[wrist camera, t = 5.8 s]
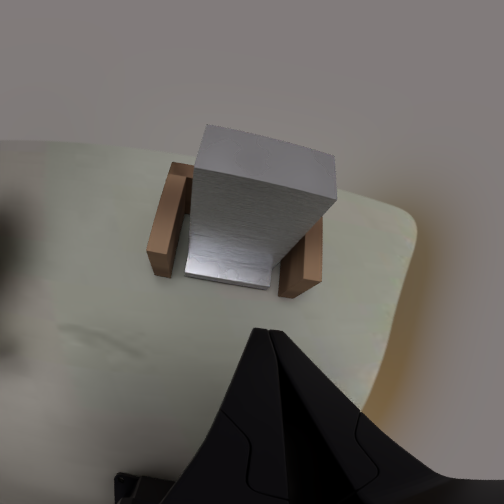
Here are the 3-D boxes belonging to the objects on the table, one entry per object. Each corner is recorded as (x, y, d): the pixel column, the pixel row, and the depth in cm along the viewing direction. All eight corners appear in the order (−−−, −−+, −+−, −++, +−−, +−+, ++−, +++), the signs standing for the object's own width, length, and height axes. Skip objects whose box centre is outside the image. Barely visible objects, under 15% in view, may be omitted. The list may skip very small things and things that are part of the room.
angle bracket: (266, 289, 21) (338, 225, 11) (184, 275, 20) (186, 193, 10) (271, 229, 23) (332, 137, 13) (197, 214, 22) (212, 107, 12)
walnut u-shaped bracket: (293, 298, 22) (321, 281, 17) (154, 274, 20) (146, 250, 15) (297, 224, 24) (322, 194, 20) (173, 200, 22) (172, 161, 18)
